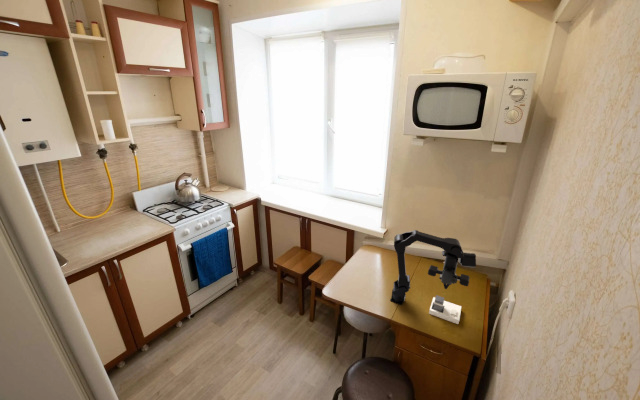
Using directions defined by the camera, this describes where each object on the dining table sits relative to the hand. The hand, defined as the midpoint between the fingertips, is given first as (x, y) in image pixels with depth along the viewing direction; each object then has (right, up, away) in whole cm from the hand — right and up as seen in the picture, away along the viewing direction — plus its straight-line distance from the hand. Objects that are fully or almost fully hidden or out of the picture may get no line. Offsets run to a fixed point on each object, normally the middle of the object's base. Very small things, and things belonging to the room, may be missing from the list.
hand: (445, 288), depth 143 cm
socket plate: (0, -13, +2) cm, 13 cm away
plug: (-3, -12, +2) cm, 13 cm away
